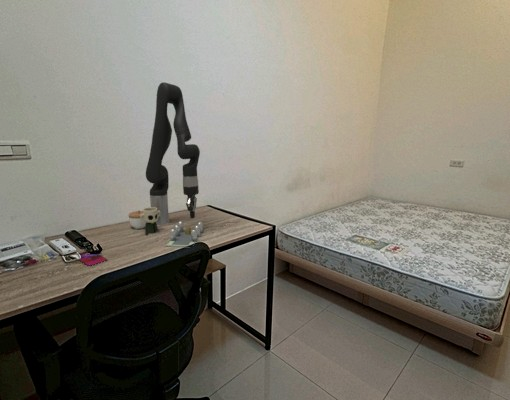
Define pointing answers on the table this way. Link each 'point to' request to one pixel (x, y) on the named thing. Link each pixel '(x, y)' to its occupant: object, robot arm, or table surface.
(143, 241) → the table surface
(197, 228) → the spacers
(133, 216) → the lidded jar
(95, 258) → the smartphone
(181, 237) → the mat
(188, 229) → the nut
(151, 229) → the character mug
